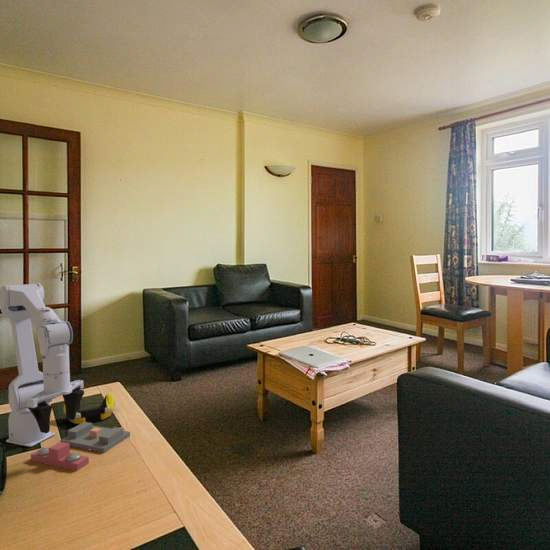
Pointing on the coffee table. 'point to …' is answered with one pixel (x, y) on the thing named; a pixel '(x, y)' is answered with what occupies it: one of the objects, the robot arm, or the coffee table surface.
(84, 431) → the display stand
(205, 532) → the coffee table surface
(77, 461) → the frame bar
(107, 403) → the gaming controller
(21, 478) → the coffee table surface
